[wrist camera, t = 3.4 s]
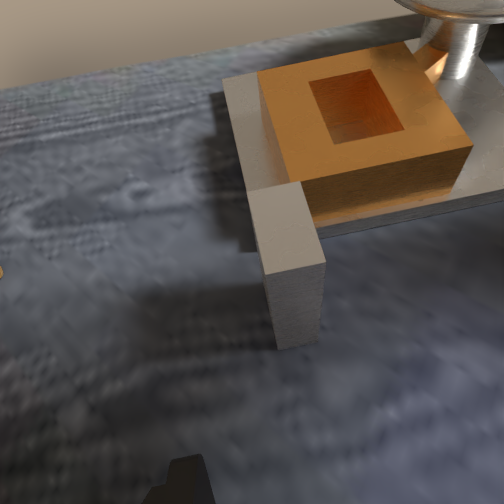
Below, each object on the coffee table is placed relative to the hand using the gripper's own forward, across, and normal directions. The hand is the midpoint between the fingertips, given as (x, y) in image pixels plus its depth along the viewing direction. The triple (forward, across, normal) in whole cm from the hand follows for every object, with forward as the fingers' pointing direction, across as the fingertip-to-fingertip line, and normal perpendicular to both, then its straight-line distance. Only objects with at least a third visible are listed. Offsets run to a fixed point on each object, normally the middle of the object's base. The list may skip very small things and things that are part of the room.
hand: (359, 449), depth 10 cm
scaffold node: (+26, -12, -8) cm, 30 cm away
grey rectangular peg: (+15, 0, +2) cm, 16 cm away
